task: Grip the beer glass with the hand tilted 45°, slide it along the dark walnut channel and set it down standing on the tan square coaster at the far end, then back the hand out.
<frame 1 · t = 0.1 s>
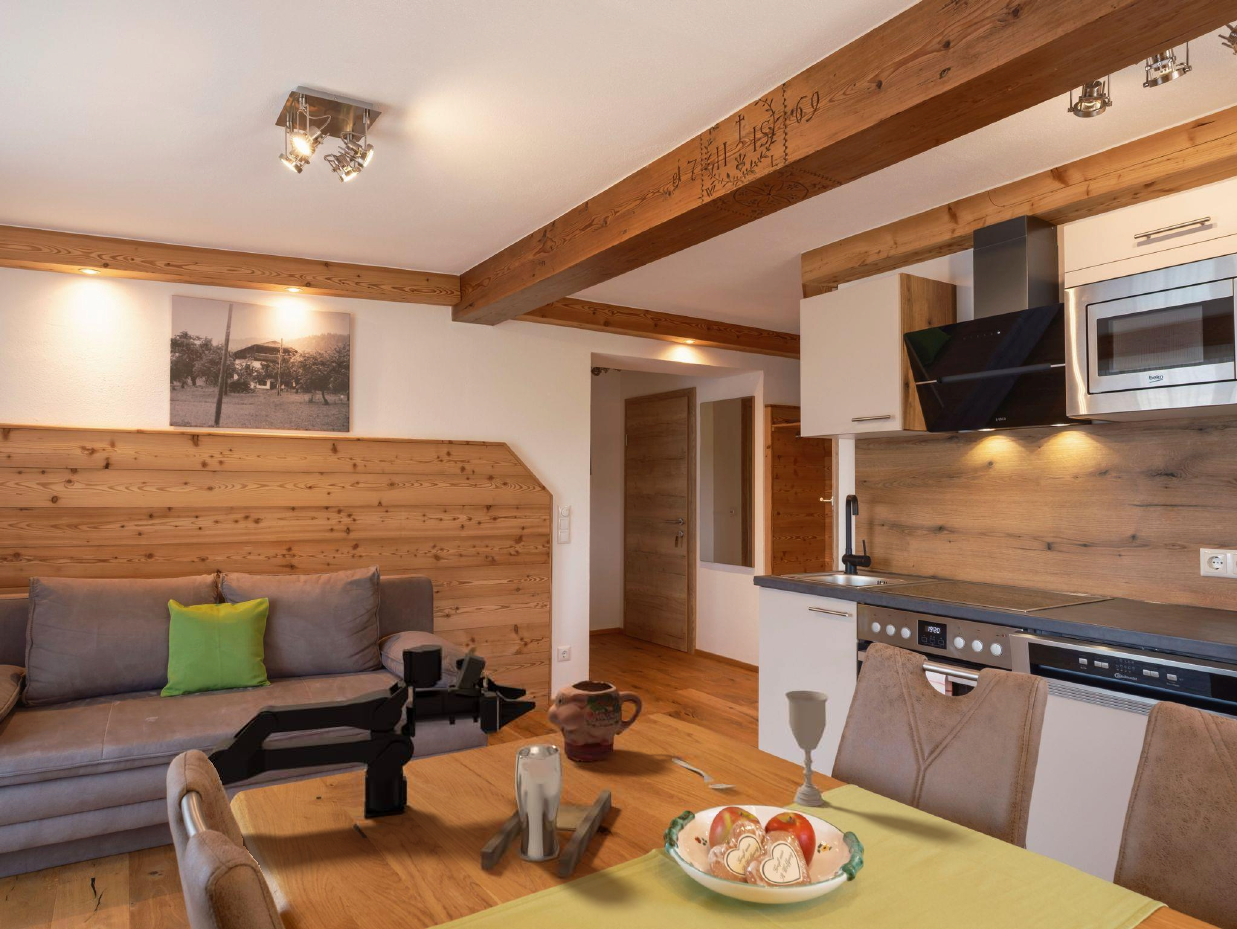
hand: (530, 698, 144), 17 cm above the table, tool horizontal, fingers open, 9 cm apart
tan square coaster: (563, 817, 132), on the table
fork: (696, 775, 152), on the table
chalice: (808, 801, 138), on the table
channel: (552, 834, 125), on the table
beer glass: (539, 853, 119), on the table
sculpted ceramic mug: (596, 754, 164), on the table
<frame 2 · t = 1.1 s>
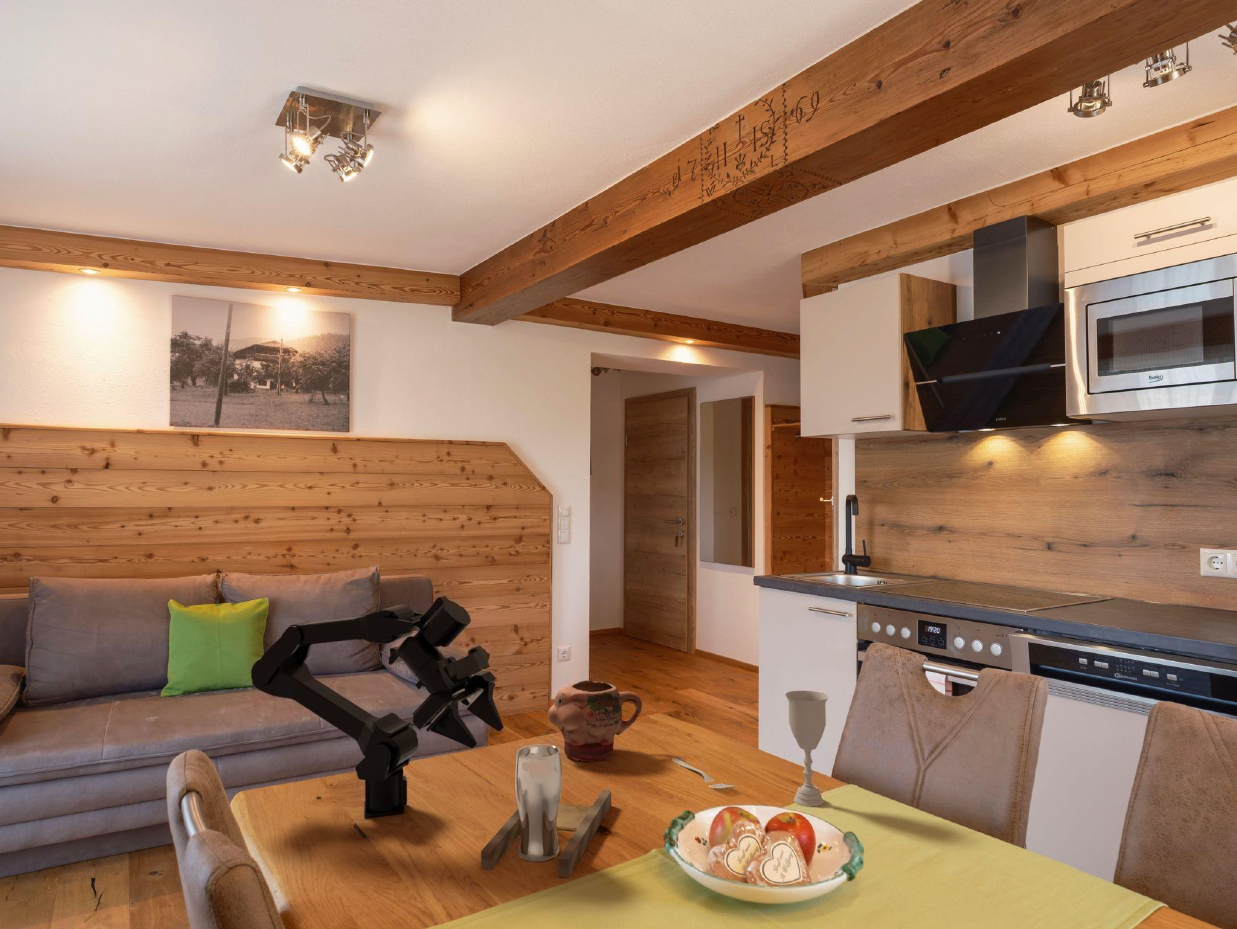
hand: (488, 737, 131), 14 cm above the table, tool tilted 45°, fingers open, 9 cm apart
nothing on the table moved.
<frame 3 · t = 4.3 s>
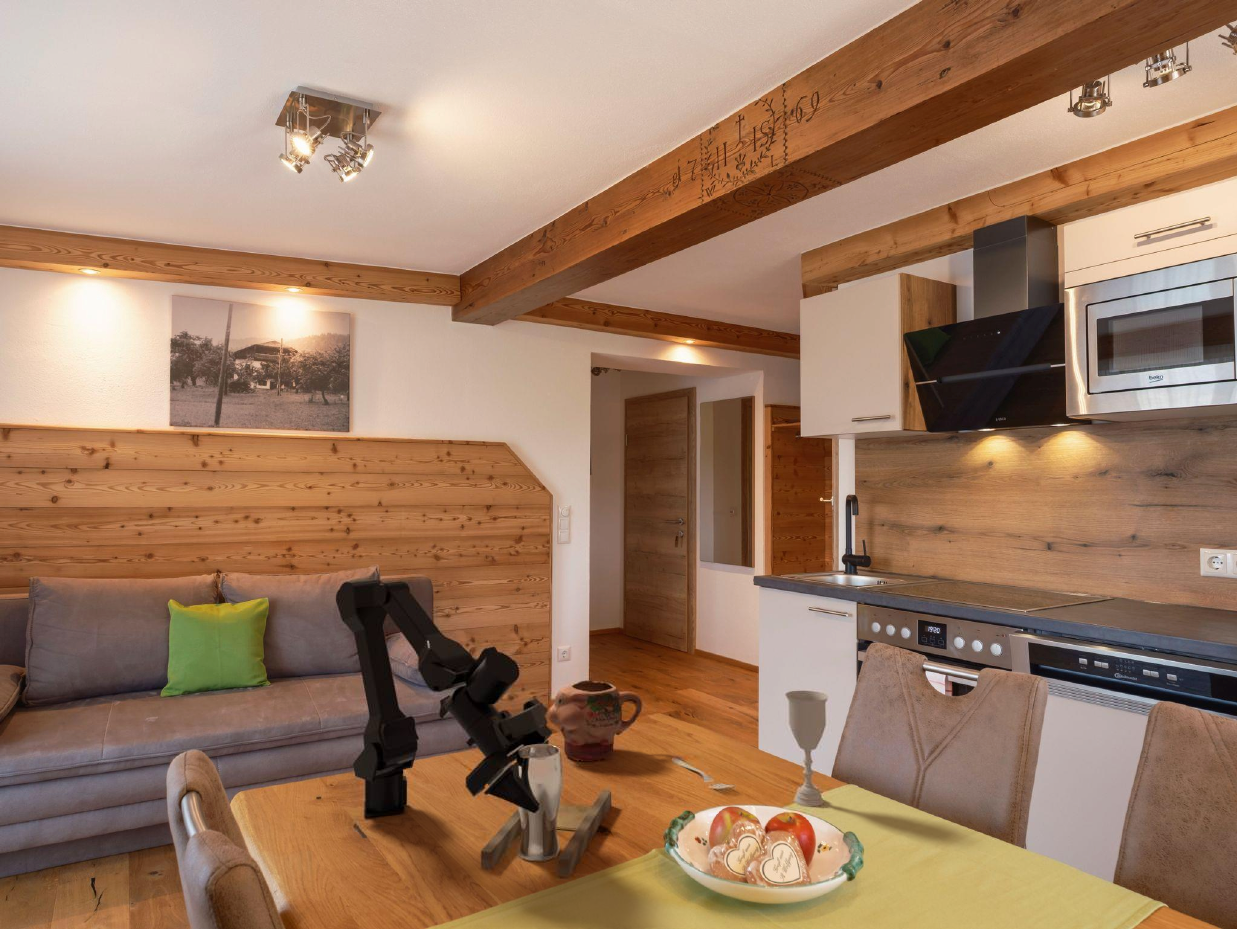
hand: (547, 802, 119), 8 cm above the table, tool tilted 45°, fingers closed on beer glass, 7 cm apart
beer glass: (539, 853, 119), on the table, touching gripper
everything else where it was.
when the fingers open (9 cm above the table, at t = 9.4 s): beer glass stays where it is, resting on tan square coaster.
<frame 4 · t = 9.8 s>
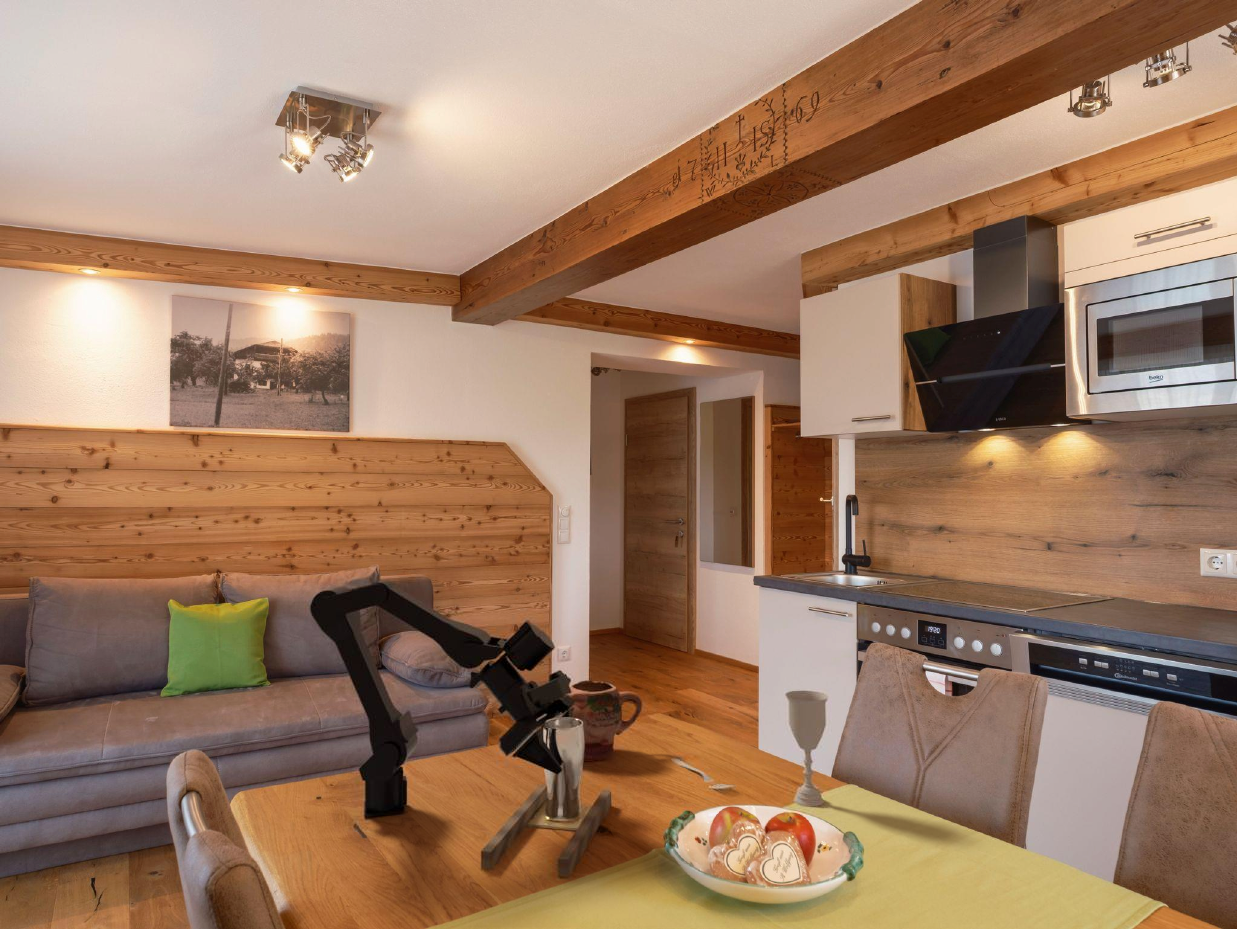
hand: (571, 762, 131), 9 cm above the table, tool tilted 45°, fingers open, 9 cm apart
beer glass: (563, 815, 132), resting on tan square coaster
everything else where it was.
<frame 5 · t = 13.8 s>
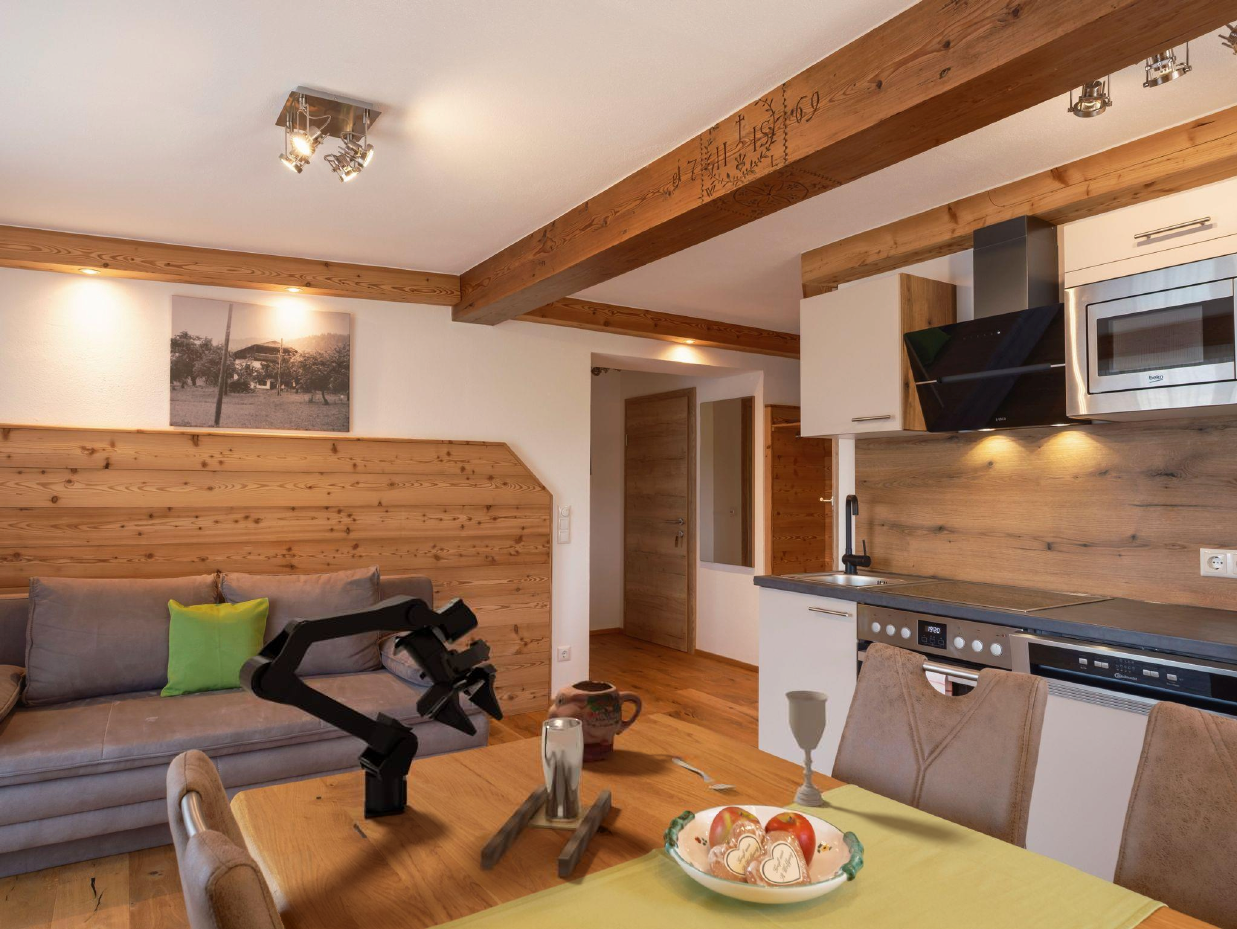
hand: (488, 726, 137), 14 cm above the table, tool tilted 45°, fingers open, 9 cm apart
nothing on the table moved.
at the end: beer glass 0.3 cm off-centre on the tan square coaster, point 0.2 cm above the tan square coaster's base; beer glass tilted 0°; the gripper is holding nothing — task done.
